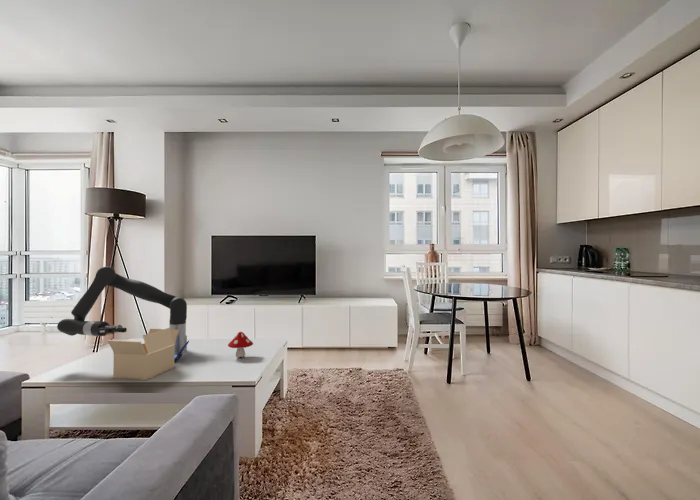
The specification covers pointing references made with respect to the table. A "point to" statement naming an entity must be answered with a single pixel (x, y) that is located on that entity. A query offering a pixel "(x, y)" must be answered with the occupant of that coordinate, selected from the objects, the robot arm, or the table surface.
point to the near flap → (158, 340)
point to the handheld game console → (177, 356)
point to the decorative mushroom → (240, 344)
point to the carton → (141, 359)
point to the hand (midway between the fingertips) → (125, 330)
